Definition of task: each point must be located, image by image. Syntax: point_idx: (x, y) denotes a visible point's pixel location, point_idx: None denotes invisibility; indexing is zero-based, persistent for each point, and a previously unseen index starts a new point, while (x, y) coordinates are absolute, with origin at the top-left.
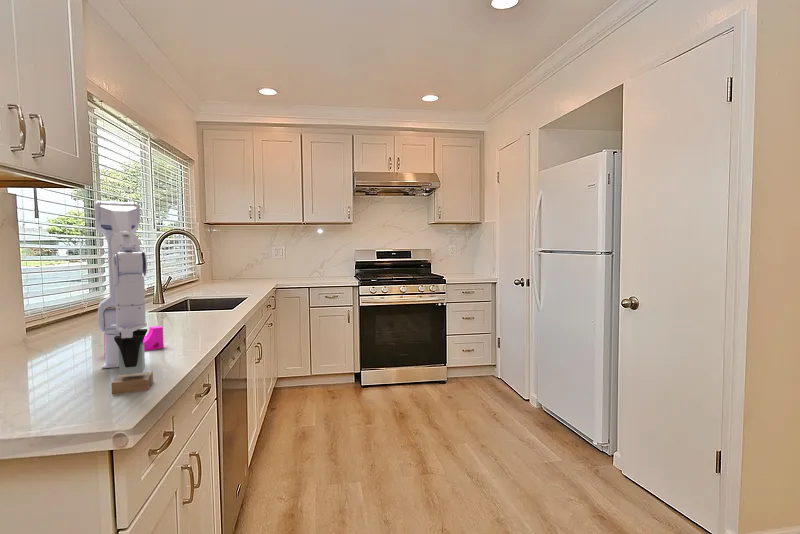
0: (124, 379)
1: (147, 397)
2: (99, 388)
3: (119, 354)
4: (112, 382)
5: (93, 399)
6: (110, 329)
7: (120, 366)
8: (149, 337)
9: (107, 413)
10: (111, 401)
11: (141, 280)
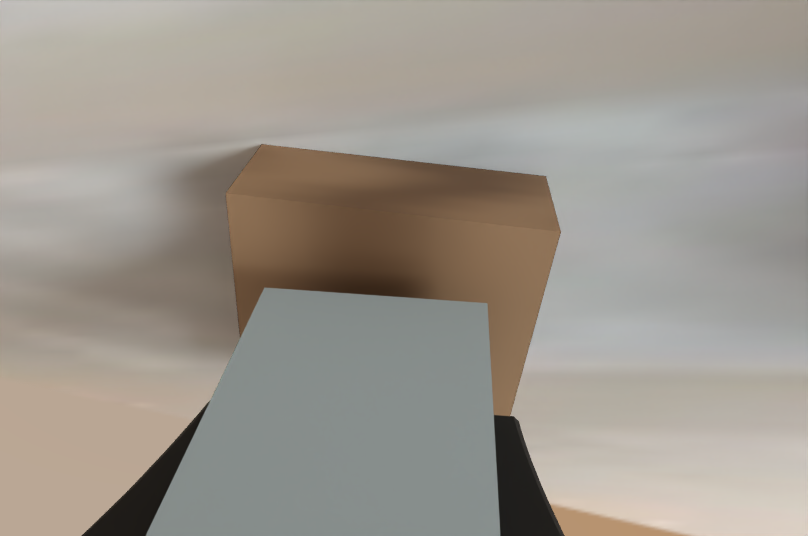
0: (318, 285)
1: (130, 350)
2: (556, 4)
3: (169, 491)
4: (242, 200)
5: (163, 7)
6: None
7: (236, 362)
8: None
9: None
10: (77, 159)
11: None
